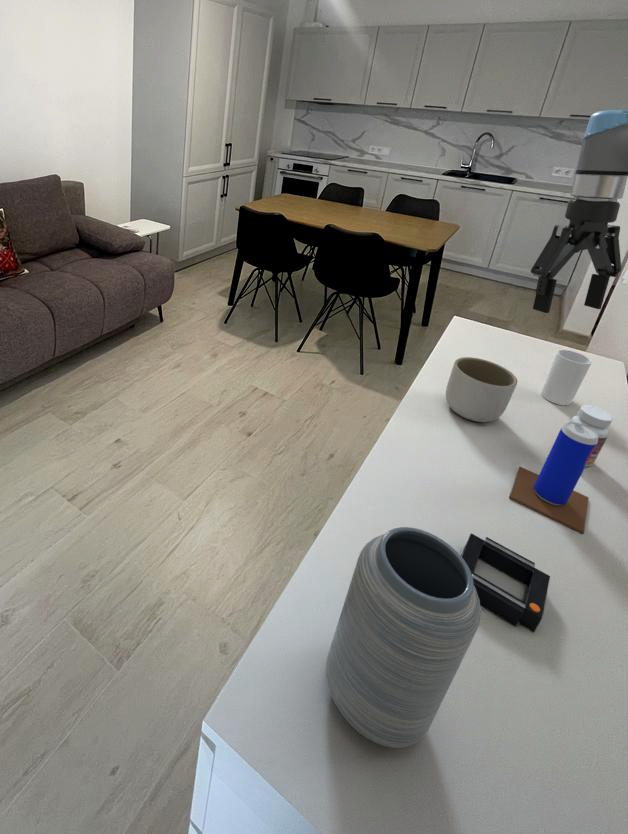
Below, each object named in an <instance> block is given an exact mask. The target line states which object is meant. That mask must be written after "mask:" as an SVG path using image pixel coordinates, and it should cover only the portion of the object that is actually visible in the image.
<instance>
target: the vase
mask: <svg viewBox="0 0 628 834" xmlns="http://www.w3.org/2000/svg"><path fill="white" fill-rule="evenodd" d="M481 616H482V609H481V605H480V600H479V597H478V594H477V591H476V588H475V586H474V583H473V577H472V574H471V571H470V569H469V567H468V565H467V564H466V562H465V561H464V559H463V558H462V557H461V554H460V553H459V552H458V551H457V550H456V549H455V548H453V547H452V545H450V544H449V543H448V542H446V541H445V540H443V539H442V538H440V537H438V536H437V535H435V534H433V533H431V532H428V531H426V530H423V529H420V528H415V527H408V526H400V527H395V528H392V529H390V530H388V531H387V532H385V533H383V534H380V535H378V536H376V537H373V538H372V539H370V540H369V541H368V542H367V543H366V544H365V545H364V547H363V548H362V549H361V550H360V552H359V555H358V558H357V561H356V565H355V567H354V570H353V574H352V576H351V579H350V583H349V586H348V589H347V593H346V596H345V599H344V602H343V606H342V608H341V612H340V615H339V618H338V621H337V625H336V629H335V631H334V634H333V638H332V641H331V644H330V647H329V650H328V653H327V657H326V664H325V676H326V681H327V686H328V689H329V692H330V695H331V698H332V700H333V702H334V704H335V706H336V707H337V709H338V711H339V712H340V714H341V715H342V717H343V718H344V719H345V720H346V722H347V723H348V724H349V725H350V726H351V727H352V728H353V729H354V730H356V732H357V733H358V734H359V735H361V736H363V737H364V738H365V739H367V740H369V741H371V742H373V743H375V744H377V745H380V746H383V747H386V748H394V749H402V748H407V747H411V746H414V745H416V744H417V743H418V742H420V741H421V740H423V738H424V737H425V736H426V734H427V733H428V732H429V730H430V728H431V726H432V724H433V721H434V720H435V718H436V715H437V713H438V711H439V709H440V708H441V705H442V703H443V701H444V699H445V697H446V695H447V693H448V690H449V689H450V686H451V685H452V682H453V680H454V679H455V676H456V674H457V672H458V670H459V668H460V667H461V664H462V662H463V660H464V658H465V655H466V654H467V652H468V650H469V648H470V646H471V644H472V641H473V640H474V638H475V635H476V634H477V631H478V629H479V627H480V625H481Z"/></svg>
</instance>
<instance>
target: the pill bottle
mask: <svg viewBox="0 0 628 834" xmlns="http://www.w3.org/2000/svg"><path fill="white" fill-rule="evenodd" d="M613 420H614V419H613V416H612V415H611V414H610V413H609V412H608V411H607V410H604V409H603V408H601V407H598V406H594V405H590V404H583V405H581V406H580V407H579V410H578V412H577V415H574V416H573V417H572V418H571V419H570V421H569V422H575V423H579V424H582V425H585V426H587V427H589V428H591V429H592V430H594V431H595V432H596V433H597V434H598V443H597V445H596V447H595V449H594V451H593V453H592V455H591V457H590V459H589V461H588V463H587V465H586V467H592V466H593V465H594V464H595V462H596V460H597V458H598V456H599V455H600V453H601V451H602V449H603V447H604V445H605V443H606V441H607V440H608V438H609V435H610V429H609V427H610V426H611V423H612V421H613ZM586 467H585V468H586Z"/></svg>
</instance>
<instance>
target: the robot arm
mask: <svg viewBox="0 0 628 834" xmlns="http://www.w3.org/2000/svg"><path fill="white" fill-rule="evenodd" d="M574 174H575V176H574V179H573V182H572V185H571V191H570V196H571V197H573V198H571V199H569V200H568V201H567V206H566V210H565V214H564V217H565V219H567V220H569V222H568V225H561V224H555V225H554V227H553V229H552V233H551V236H550V238H549V239H548V241H547V242H546V244H545V246H544V247H543V249H542V251H541V253H539V256H538V257H537V259H536V261H535V263H534V264H533V265H532V267H531V269H530V273H531V274H533V276H535V277H538V279H537V284H536V288H535V297H534V302H533V306H532V310H534V311H538V312H541V313H544V314H549V313H550V311H551V306H552V302H553V298H554V295H555V294H554V293H555V290H556V287H557V281H558V280H557V279H556V278H555V277H556V276H557V274H558V273H559V272H560V271H561V270H562V269H563V268H564V267H565V265H566V264H567V263H569V261H570V260H571V259H572V257H573V256H574V255H575V254H577V253H580V252H581V251H586V250H587V252H588V255H589V257H590V260H591V262H592V266H593V267H594V269H595V272H596V273H592V274H591V278H590V280H589V284H588V288H587V292H586V295H585V296H586V297H585V300H584V304H583V306H584V307H588V308H593V309H596V310H601V309H602V306H603V303H604V299H605V295H606V292H607V289H608V285H609V282H610V278H617V277H618V276H619V273H621V271H622V262H621V261H622V260H621V259H622V258H621V249H620V247H621V246H620V232H621V226H620V225H615V224H612V223H614V222H616V221H617V219H618V216H619V211H620V209H621V208H620V207H621V203H620V202H619V201H618V200H621V199H623V198H624V193H625V190H626V185H627V182H628V109H608V110H607V109H605V110H600V111H596V112H594V113H593V114H591V115H590V117H589V119H588V123H587V126H586V129H585V131H584V134H583V137H582V141H581V147H580V151H579V156H578V160H577V165H576V170H575V173H574Z"/></svg>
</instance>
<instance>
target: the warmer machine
mask: <svg viewBox="0 0 628 834" xmlns="http://www.w3.org/2000/svg"><path fill="white" fill-rule="evenodd" d="M460 556H461V557H462V558H463V559H464V561H465V562H466V564H467V565H468V567H469V569H470V571H471V574H472V577H473V583H474V586H475V588H476V591H477V594H478V597H479V600H480V607H483V608H484V609H486V610H487V611H489V612H490V613H492V614H494V615H496V616H497V617H499V618H500V619H502V620H503V621H505V622H507V623H509V624H510V625H512V626H514V627H517V626H518V624H520V625H522V626H523V627H524V628H526V629H528V630H530V631H531V632H533V633H535V631H536V630H537V628H538V626H539V624H540V622H541V621H542V619H543V616H544V609H545V605H546V601H547V600H546V599H547V596H548V595H547V594H548V588H549V583H550V579H551V575H549V574H548V573H545V572H543V571H542V570H540V569H538V568H536V562H534V561H532V560H530V559H528V558H526V557H524V556H523V555H521V554H519V553H517V552H515V551H514V550H512V549H510V548H508V547H506V546H504V545H502V544H501V543H499V542H497V541H495V540H493V539H492V538H490V537H487V536H486V537H485V539H483V538H481V537H479V536H477V535H475V534H474V533H472V532H471V533H470V534H469V536H468V539H467V541H466V543H465V545H464V548H463V551H462V552H461V554H460ZM479 560H481V561H482V562H484V563H486V564H487V565H489V566H491V567H493V568H494V569H496V570H498V571H500V572H502V573H503V574H505V575H507V576H508V577H510V578H512V579H514V580H516V581H517V582H520V584H522V585H524V586H525V589H524V593H523V596H522V599H520V598H518V596H515V595H514V594H511V593H510V592H508V591H506V590H505V589H503V588H502V587H500V586H498V585H496V584H495V583H493V582H491V581H490V580H488V579H486V578H485V577H482V576H481V575H479V574H477V573H476V572H474V571H475V569H476V566H477V563H478V561H479Z"/></svg>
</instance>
